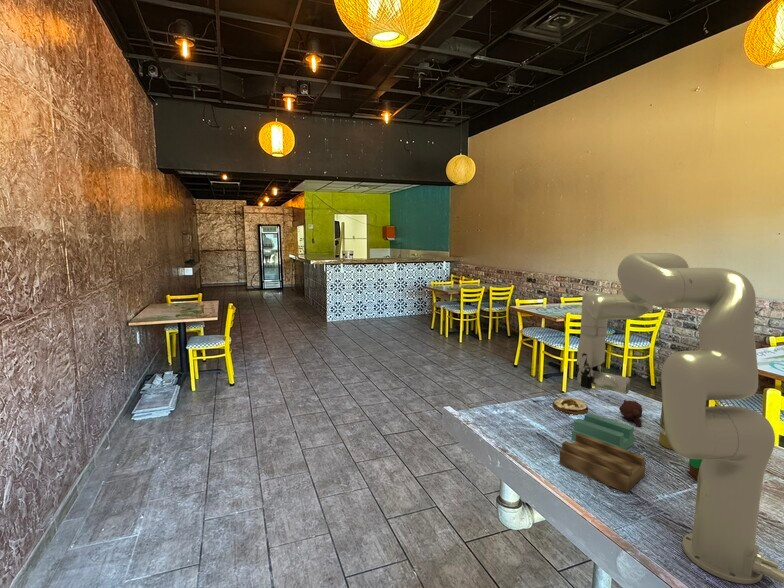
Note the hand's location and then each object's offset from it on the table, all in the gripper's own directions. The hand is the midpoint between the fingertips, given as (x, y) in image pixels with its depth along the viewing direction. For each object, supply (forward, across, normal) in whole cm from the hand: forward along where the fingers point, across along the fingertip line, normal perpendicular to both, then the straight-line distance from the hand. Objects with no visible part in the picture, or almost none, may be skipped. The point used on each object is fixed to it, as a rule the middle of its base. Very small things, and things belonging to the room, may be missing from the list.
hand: (590, 385), depth 132 cm
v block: (+17, 0, +5) cm, 18 cm away
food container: (+18, -1, +30) cm, 35 cm away
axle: (0, 0, +4) cm, 4 cm away
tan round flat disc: (+18, -18, -15) cm, 30 cm away
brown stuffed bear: (+18, -26, +4) cm, 31 cm away
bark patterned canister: (+18, -14, +20) cm, 30 cm away
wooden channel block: (+17, +17, +12) cm, 27 cm away
